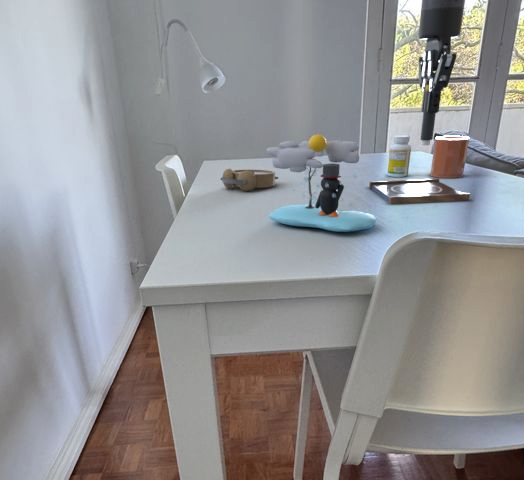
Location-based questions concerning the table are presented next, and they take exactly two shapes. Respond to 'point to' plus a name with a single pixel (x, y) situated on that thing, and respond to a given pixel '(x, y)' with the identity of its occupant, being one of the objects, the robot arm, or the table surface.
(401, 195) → the brown square panel
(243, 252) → the table surface
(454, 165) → the pen cup
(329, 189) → the penguin figurine
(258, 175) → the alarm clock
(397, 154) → the supplement bottle
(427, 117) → the marker
